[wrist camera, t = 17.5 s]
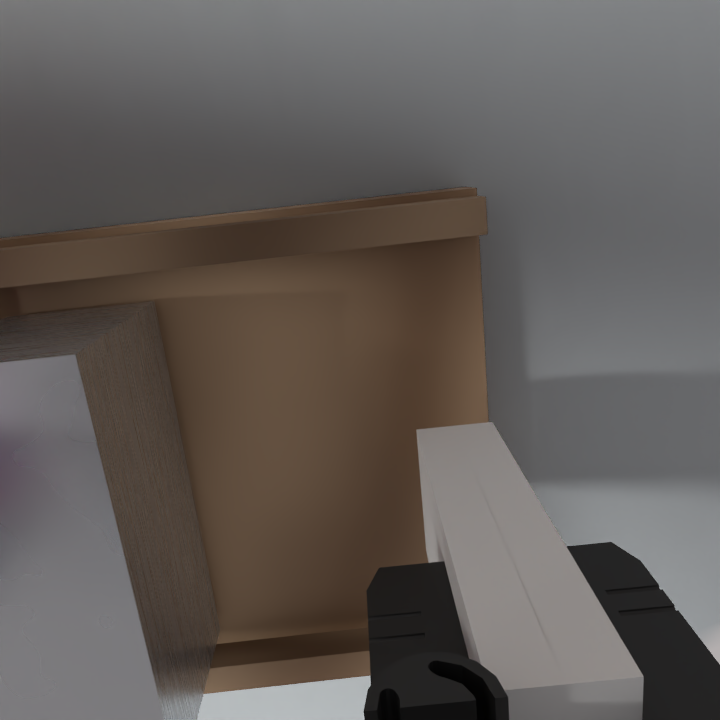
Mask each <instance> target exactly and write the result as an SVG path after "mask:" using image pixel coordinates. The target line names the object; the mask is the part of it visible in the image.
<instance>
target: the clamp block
mask: <svg viewBox="0 0 720 720" xmlns="http://www.w3.org/2000/svg"><path fill="white" fill-rule="evenodd" d="M219 632H220V626H219V621H218V616H217V611H216V606H215V601H214V596H213V591H212V586H211V581H210V576H209V571H208V566H207V561H206V556H205V551H204V546H203V541H202V536H201V531H200V526H199V521H198V516H197V511H196V506H195V501H194V496H193V491H192V486H191V481H190V476H189V471H188V466H187V461H186V456H185V451H184V446H183V442H182V437H181V432H180V427H179V422H178V417H177V412H176V407H175V402H174V397H173V392H172V387H171V382H170V377H169V372H168V367H167V362H166V357H165V352H164V347H163V342H162V337H161V332H160V327H159V322H158V317H157V312H156V307H155V302H154V301H147V302H138V303H129V304H120V305H111V306H102V307H93V308H84V309H75V310H66V311H57V312H48V313H39V314H29V315H20V316H11V317H6V318H4V319H1V320H0V720H197V717H198V713H199V709H200V705H201V701H202V697H203V694H204V690H205V686H206V682H207V678H208V674H209V671H210V667H211V663H212V659H213V655H214V651H215V648H216V644H217V640H218V636H219Z"/></svg>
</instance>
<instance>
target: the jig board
mask: <svg viewBox="0 0 720 720" xmlns="http://www.w3.org/2000/svg"><path fill="white" fill-rule="evenodd" d="M486 234H488V231H487V210H486V197H483V196H477V188H472V187H459V188H450V189H441V190H432V191H423V192H414V193H405V194H396V195H386V196H377V197H368V198H359V199H350V200H341V201H332V202H323V203H314V204H305V205H296V206H287V207H278V208H268V209H259V210H250V211H241V212H232V213H223V214H214V215H205V216H196V217H187V218H178V219H169V220H160V221H150V222H141V223H132V224H123V225H114V226H105V227H96V228H87V229H78V230H69V231H60V232H51V233H42V234H32V235H23V236H14V237H5V238H0V320H1V319H4V318H6V317H11V316H20V315H29V314H39V313H48V312H57V311H66V310H75V309H84V308H93V307H102V306H111V305H120V304H129V303H138V302H147V301H154V302H155V307H156V312H157V317H158V322H159V327H160V332H161V337H162V342H163V347H164V352H165V357H166V362H167V367H168V372H169V377H170V382H171V387H172V392H173V397H174V402H175V407H176V412H177V417H178V422H179V427H180V432H181V437H182V442H183V446H184V451H185V456H186V461H187V466H188V471H189V476H190V481H191V486H192V491H193V496H194V501H195V506H196V511H197V516H198V521H199V526H200V531H201V536H202V541H203V546H204V551H205V556H206V561H207V566H208V571H209V576H210V581H211V586H212V591H213V596H214V601H215V606H216V611H217V616H218V621H219V626H220V632H219V636H218V640H217V644H216V648H215V651H214V655H213V659H212V663H211V667H210V671H209V674H208V678H207V682H206V686H205V690H204V694H207V693H216V692H225V691H234V690H243V689H252V688H261V687H270V686H279V685H288V684H297V683H306V682H315V681H324V680H333V679H342V678H351V677H360V676H369V675H371V674H370V654H369V633H368V612H367V592H366V590H367V589H368V587H369V585H370V583H371V581H372V580H373V578H374V576H375V574H376V572H377V570H378V569H379V568H380V567H390V566H400V565H410V564H420V563H429V562H428V557H427V552H426V543H425V530H424V518H423V506H422V494H421V481H420V469H419V457H418V445H417V432H416V430H417V429H427V428H437V427H447V426H456V425H466V424H476V423H486V422H489V419H488V400H487V380H486V361H485V341H484V322H483V302H482V283H481V263H480V244H479V235H486Z"/></svg>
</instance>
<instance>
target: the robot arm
mask: <svg viewBox="0 0 720 720" xmlns="http://www.w3.org/2000/svg"><path fill="white" fill-rule="evenodd" d="M416 432H417V445H418V457H419V469H420V481H421V494H422V506H423V518H424V530H425V543H426V552H427V557H428V562H429V563H420V564H410V565H400V566H390V567H380V568H379V569H378V570H377V572H376V574H375V576H374V578H373V580H372V581H371V583H370V585H369V587H368V589H367V590H366V592H367V612H368V633H369V654H370V674H371V686H370V688H369V689H368V693H367V698H366V703H365V708H364V717H365V720H720V665H719V663H718V662H717V661H716V659H715V658H714V657H713V655H712V654H711V653H710V651H709V650H708V649H707V647H706V646H705V645H704V644H703V642H702V641H701V640H700V638H699V637H698V636H697V634H696V633H695V632H694V630H693V629H692V628H691V626H690V625H689V624H688V623H687V621H686V620H685V619H684V617H683V616H682V615H681V613H680V612H679V611H676V610H675V608H674V604H673V603H672V602H671V600H670V599H669V598H668V596H667V595H666V594H665V592H664V591H663V590H660V589H659V585H658V583H657V582H656V581H655V579H654V578H653V577H652V575H651V574H650V573H649V571H648V570H647V569H646V568H645V566H644V565H643V564H642V562H641V561H640V560H638V559H637V558H635V557H634V556H632V555H631V554H629V553H627V552H626V551H624V550H623V549H621V548H620V547H618V546H617V545H615V544H613V543H612V542H607V543H597V544H587V545H577V546H567V547H566V545H565V543H564V542H563V540H562V538H561V537H560V535H559V533H558V532H557V530H556V528H555V526H554V525H553V523H552V521H551V520H550V518H549V516H548V515H547V513H546V511H545V510H544V508H543V506H542V505H541V503H540V501H539V500H538V498H537V496H536V494H535V493H534V491H533V489H532V488H531V486H530V484H529V483H528V481H527V479H526V478H525V476H524V474H523V473H522V471H521V469H520V468H519V466H518V464H517V462H516V461H515V459H514V457H513V456H512V454H511V452H510V451H509V449H508V447H507V446H506V444H505V442H504V441H503V439H502V437H501V436H500V434H499V432H498V430H497V429H496V427H495V425H494V424H493V422H486V423H476V424H466V425H456V426H447V427H437V428H427V429H417V430H416Z"/></svg>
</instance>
